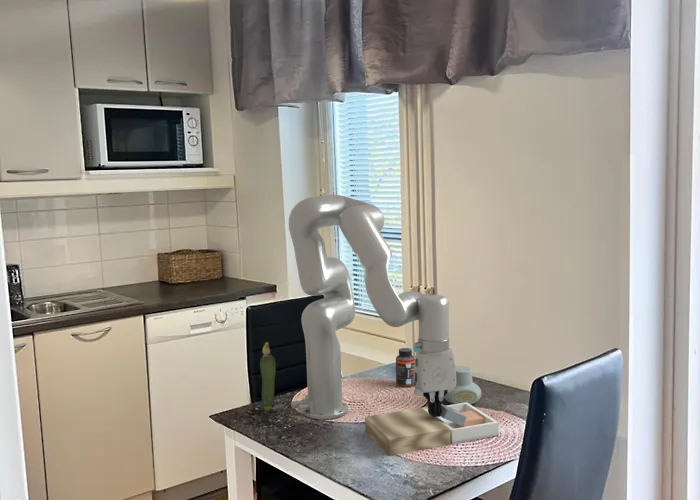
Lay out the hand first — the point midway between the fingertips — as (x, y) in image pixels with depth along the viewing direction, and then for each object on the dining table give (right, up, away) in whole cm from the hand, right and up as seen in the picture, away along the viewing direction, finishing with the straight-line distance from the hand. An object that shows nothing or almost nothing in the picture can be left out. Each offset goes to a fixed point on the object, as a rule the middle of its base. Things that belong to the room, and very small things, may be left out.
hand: (434, 415), depth 176 cm
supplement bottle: (-4, 0, +39) cm, 39 cm away
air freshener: (+11, -2, +22) cm, 25 cm away
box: (+7, -4, +3) cm, 9 cm away
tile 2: (+9, -1, +4) cm, 10 cm away
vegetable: (-44, -4, +21) cm, 49 cm away
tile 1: (+4, -1, +1) cm, 4 cm away
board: (-7, -5, -2) cm, 9 cm away
